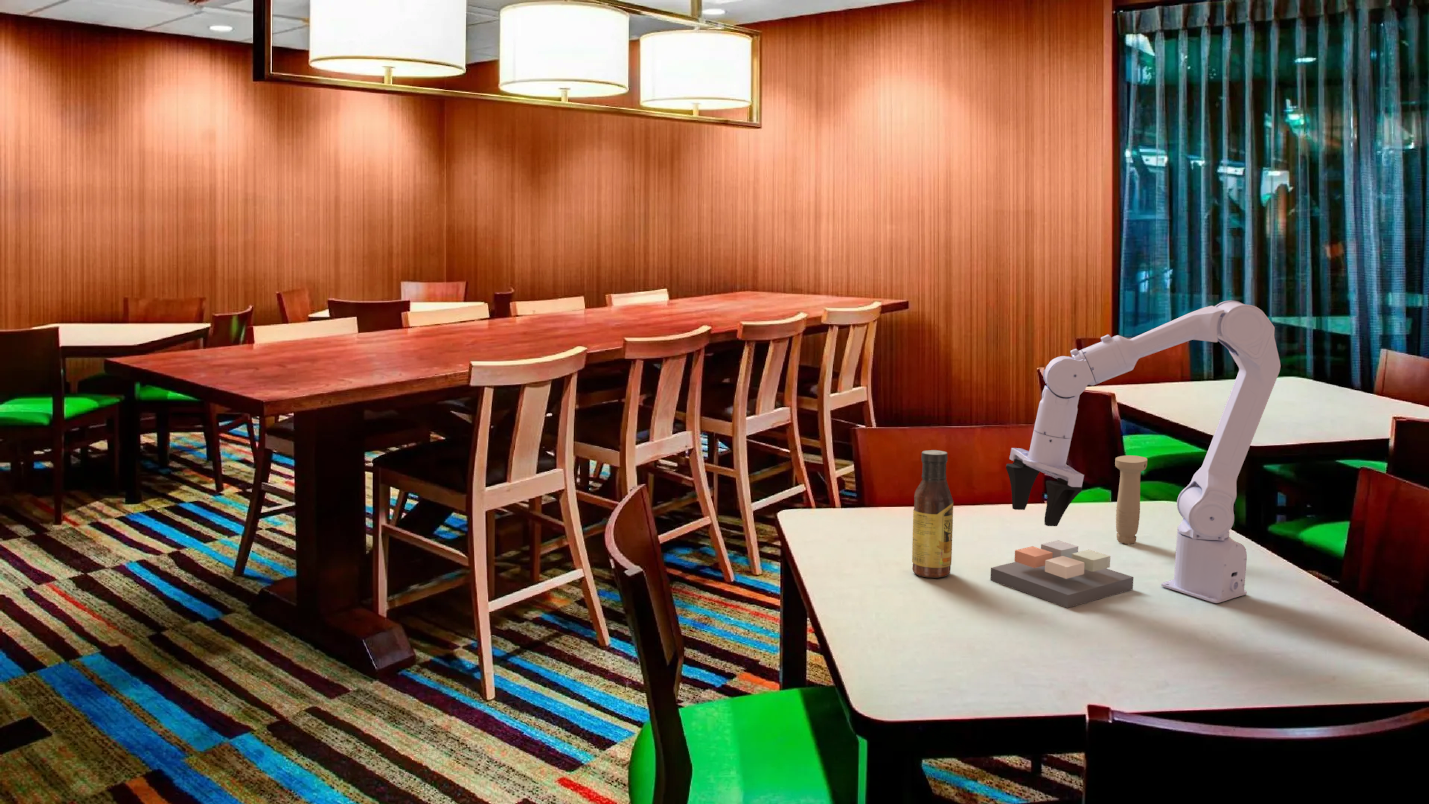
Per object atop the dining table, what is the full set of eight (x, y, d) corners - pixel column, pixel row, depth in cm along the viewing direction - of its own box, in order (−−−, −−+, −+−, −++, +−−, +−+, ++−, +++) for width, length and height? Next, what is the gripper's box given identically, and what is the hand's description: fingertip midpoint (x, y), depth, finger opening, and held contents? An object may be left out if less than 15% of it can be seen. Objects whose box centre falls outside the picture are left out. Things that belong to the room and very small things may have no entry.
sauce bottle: (951, 581, 169) (955, 457, 166) (911, 578, 170) (914, 455, 167) (950, 568, 175) (955, 449, 172) (911, 565, 176) (915, 447, 173)
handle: (1146, 540, 190) (1152, 458, 188) (1132, 548, 185) (1137, 464, 183) (1120, 535, 193) (1125, 454, 191) (1105, 543, 189) (1110, 459, 186)
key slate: (1077, 557, 170) (1078, 546, 170) (1060, 561, 168) (1061, 550, 168) (1057, 550, 173) (1058, 540, 173) (1040, 555, 171) (1041, 544, 171)
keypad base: (1132, 589, 165) (1133, 577, 164) (1067, 608, 157) (1068, 595, 157) (1054, 563, 177) (1055, 552, 177) (990, 579, 169) (990, 567, 169)
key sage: (1109, 567, 165) (1110, 556, 165) (1092, 571, 163) (1093, 560, 163) (1088, 560, 168) (1088, 549, 168) (1071, 564, 166) (1071, 553, 166)
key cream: (1083, 574, 162) (1084, 562, 162) (1066, 578, 160) (1066, 567, 159) (1062, 567, 165) (1063, 555, 165) (1044, 571, 163) (1045, 560, 163)
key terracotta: (1052, 563, 167) (1052, 552, 167) (1034, 568, 165) (1035, 556, 164) (1032, 557, 170) (1032, 546, 170) (1014, 561, 168) (1014, 550, 168)
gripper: (1002, 420, 170) (985, 501, 173) (1065, 445, 158) (1046, 533, 160) (1036, 422, 173) (1019, 502, 176) (1101, 447, 161) (1081, 533, 163)
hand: (1034, 517), depth 168 cm, fingers open, 7 cm apart
